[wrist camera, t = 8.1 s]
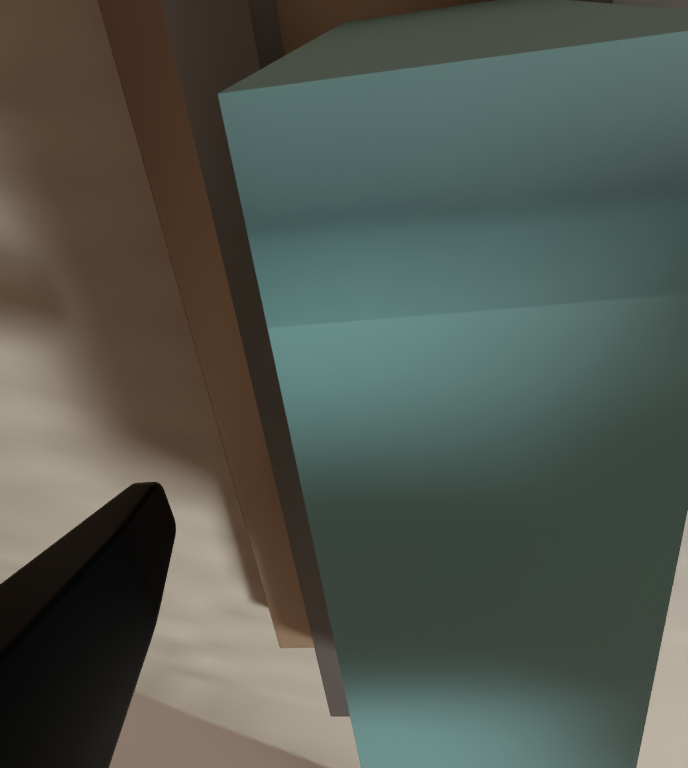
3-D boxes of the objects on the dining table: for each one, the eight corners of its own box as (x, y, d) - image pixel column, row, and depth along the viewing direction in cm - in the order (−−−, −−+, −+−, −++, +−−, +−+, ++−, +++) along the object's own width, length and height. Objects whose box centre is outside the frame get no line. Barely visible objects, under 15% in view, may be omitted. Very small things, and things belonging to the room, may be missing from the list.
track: (767, -166, 8) (912, -227, 6) (637, 609, 16) (678, 718, 14) (110, -55, 9) (10, -70, 7) (286, 615, 17) (266, 716, 15)
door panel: (513, 601, 15) (586, 1015, 9) (409, 603, 15) (411, 1003, 9) (521, -4, 9) (784, 16, 3) (343, 22, 9) (217, 93, 3)
